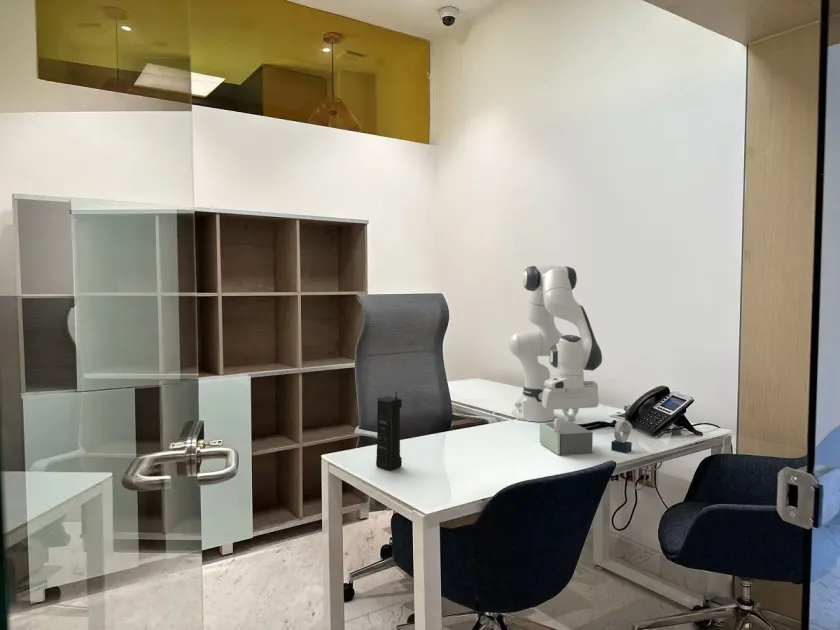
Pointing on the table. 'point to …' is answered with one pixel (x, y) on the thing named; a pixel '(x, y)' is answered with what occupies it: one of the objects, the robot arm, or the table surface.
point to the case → (574, 439)
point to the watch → (621, 442)
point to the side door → (551, 436)
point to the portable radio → (388, 433)
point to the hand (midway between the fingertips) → (570, 420)
